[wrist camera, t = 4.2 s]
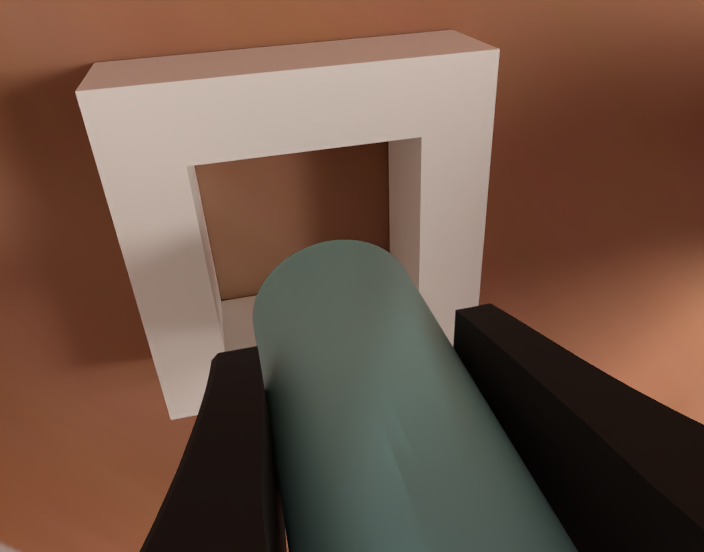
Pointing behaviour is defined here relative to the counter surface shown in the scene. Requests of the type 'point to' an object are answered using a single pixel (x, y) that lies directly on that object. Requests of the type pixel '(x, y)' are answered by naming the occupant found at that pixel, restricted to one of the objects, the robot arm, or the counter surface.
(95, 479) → the counter surface
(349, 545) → the peg
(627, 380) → the counter surface
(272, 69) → the socket block
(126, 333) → the counter surface
